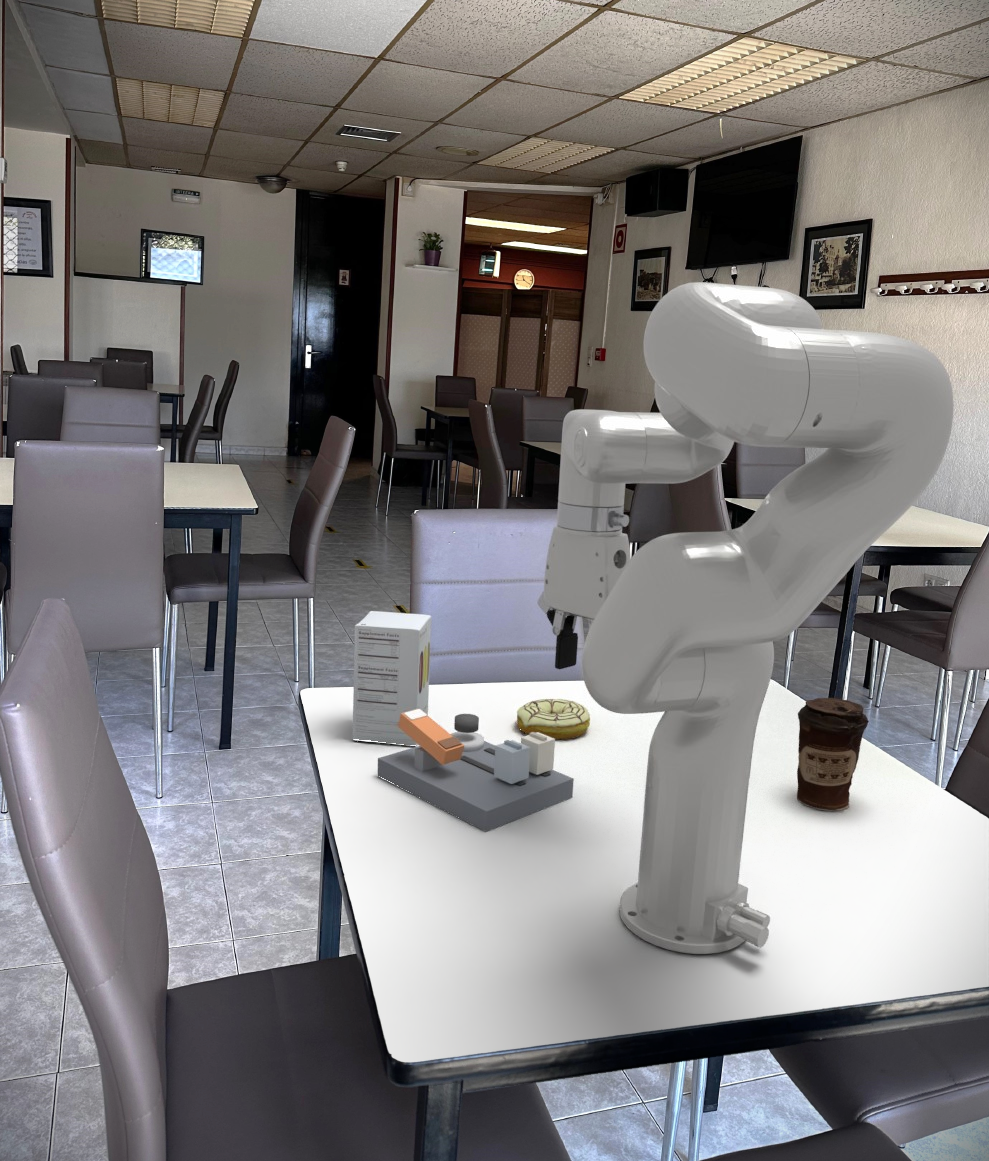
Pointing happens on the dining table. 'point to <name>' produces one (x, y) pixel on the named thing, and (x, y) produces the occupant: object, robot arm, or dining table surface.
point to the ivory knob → (540, 752)
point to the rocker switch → (431, 736)
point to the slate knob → (511, 761)
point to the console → (473, 784)
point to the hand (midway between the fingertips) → (579, 670)
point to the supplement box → (389, 673)
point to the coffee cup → (828, 751)
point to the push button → (466, 723)
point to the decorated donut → (553, 718)
